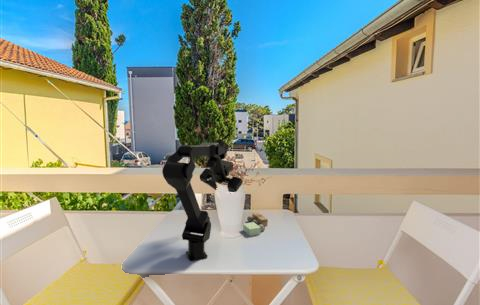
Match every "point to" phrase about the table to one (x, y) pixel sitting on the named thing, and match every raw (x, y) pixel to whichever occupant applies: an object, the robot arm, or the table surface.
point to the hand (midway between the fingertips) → (224, 192)
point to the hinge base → (258, 219)
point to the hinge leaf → (253, 228)
